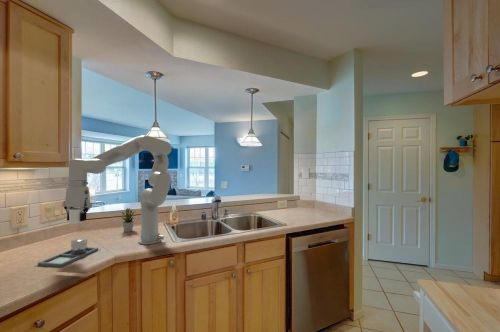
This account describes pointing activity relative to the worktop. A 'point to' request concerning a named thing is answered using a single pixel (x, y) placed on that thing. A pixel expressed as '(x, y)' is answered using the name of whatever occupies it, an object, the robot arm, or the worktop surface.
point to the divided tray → (65, 259)
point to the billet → (79, 246)
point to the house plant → (127, 220)
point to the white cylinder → (75, 215)
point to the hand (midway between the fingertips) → (76, 220)
